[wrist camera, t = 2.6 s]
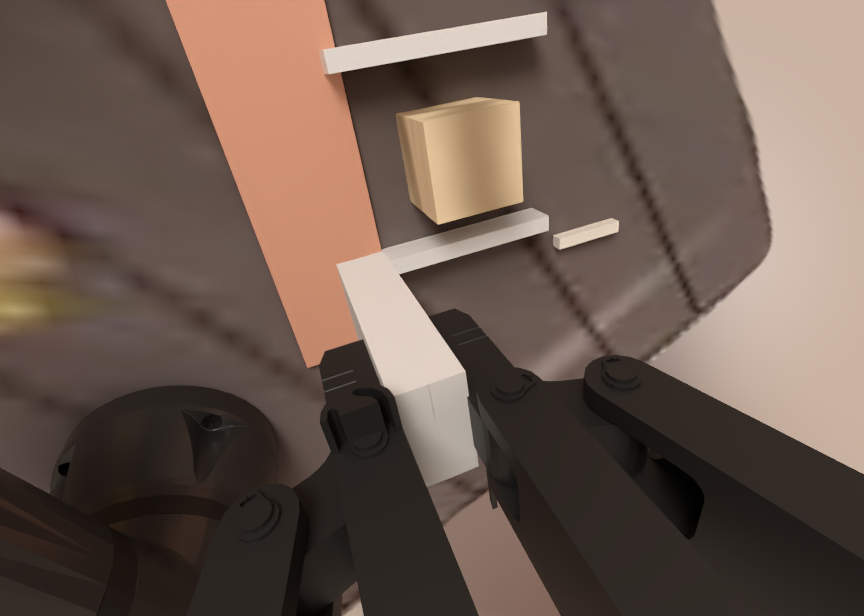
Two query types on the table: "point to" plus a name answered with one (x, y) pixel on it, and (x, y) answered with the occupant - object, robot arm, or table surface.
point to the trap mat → (286, 150)
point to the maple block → (462, 157)
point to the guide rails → (433, 44)
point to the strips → (585, 233)
